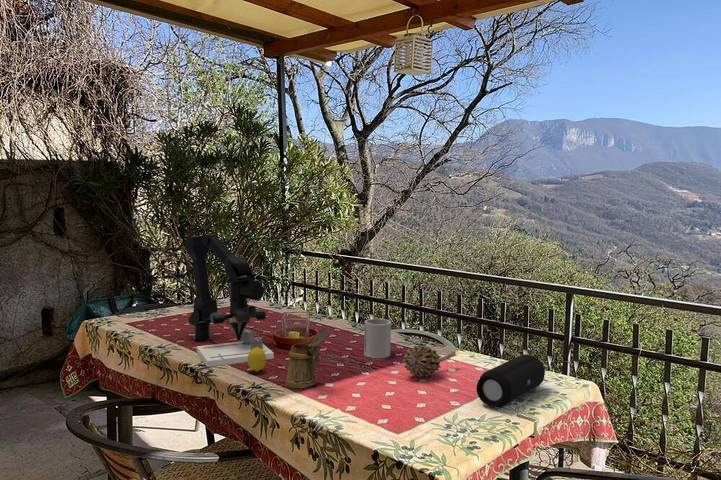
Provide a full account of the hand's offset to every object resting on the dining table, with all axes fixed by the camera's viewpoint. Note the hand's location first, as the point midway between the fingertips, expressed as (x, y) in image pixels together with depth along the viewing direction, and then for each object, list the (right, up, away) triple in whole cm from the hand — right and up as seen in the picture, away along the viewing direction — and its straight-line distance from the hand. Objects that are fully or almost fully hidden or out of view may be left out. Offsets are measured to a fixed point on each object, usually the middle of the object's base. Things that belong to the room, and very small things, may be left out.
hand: (238, 340), depth 188 cm
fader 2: (+8, -2, -9) cm, 12 cm away
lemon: (+11, -6, -23) cm, 26 cm away
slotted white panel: (0, -4, -6) cm, 7 cm away
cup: (+49, -5, -3) cm, 50 cm away
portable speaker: (+86, -9, -40) cm, 95 cm away
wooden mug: (+28, -7, -34) cm, 44 cm away
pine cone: (+66, -7, -22) cm, 69 cm away
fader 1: (+3, -1, +2) cm, 3 cm away
